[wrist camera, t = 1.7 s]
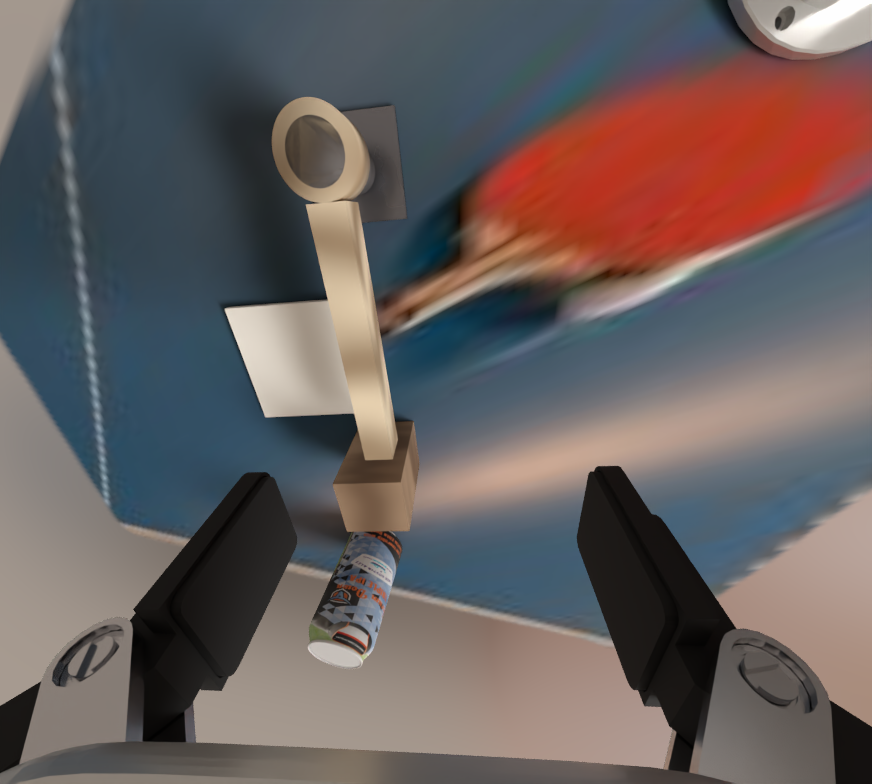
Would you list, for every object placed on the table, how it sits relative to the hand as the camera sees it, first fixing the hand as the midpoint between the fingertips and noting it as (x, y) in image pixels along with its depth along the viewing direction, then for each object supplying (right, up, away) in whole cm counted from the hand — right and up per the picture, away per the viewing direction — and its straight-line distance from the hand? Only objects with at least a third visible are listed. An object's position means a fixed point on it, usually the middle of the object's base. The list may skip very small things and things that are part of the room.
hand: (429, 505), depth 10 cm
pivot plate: (-5, +18, +12) cm, 22 cm away
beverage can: (-7, -13, +29) cm, 32 cm away
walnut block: (-4, -2, +22) cm, 22 cm away
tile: (-11, +6, +18) cm, 22 cm away
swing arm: (-4, +10, +15) cm, 19 cm away
